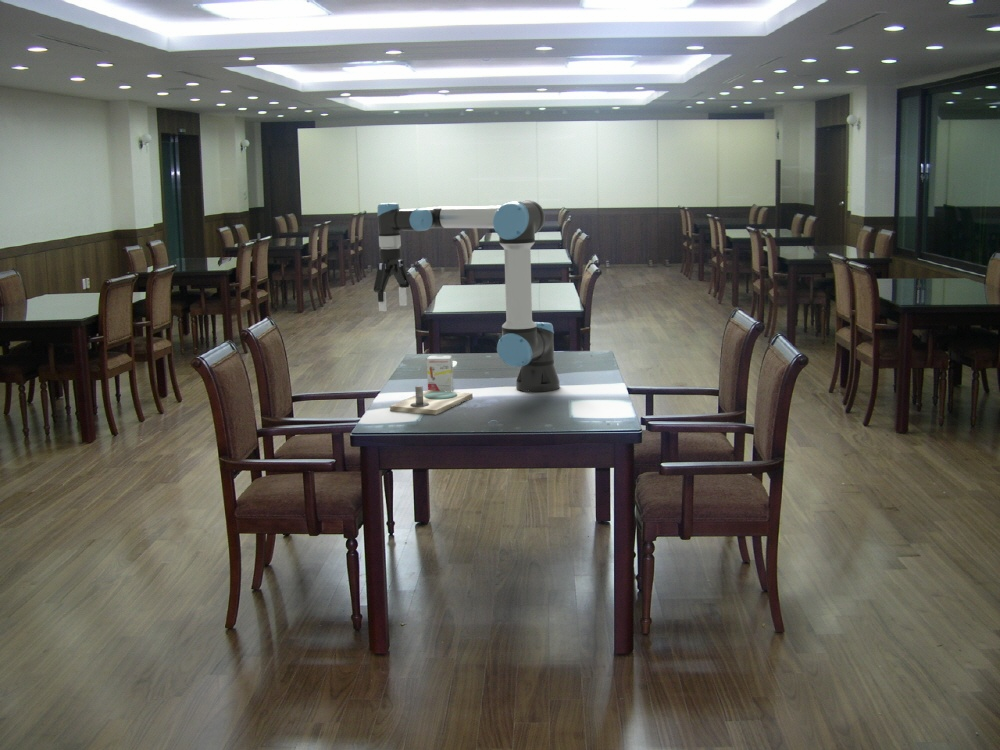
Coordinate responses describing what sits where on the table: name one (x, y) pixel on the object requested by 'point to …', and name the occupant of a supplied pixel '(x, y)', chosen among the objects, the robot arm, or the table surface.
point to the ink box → (440, 373)
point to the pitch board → (430, 401)
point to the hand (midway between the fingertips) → (393, 308)
